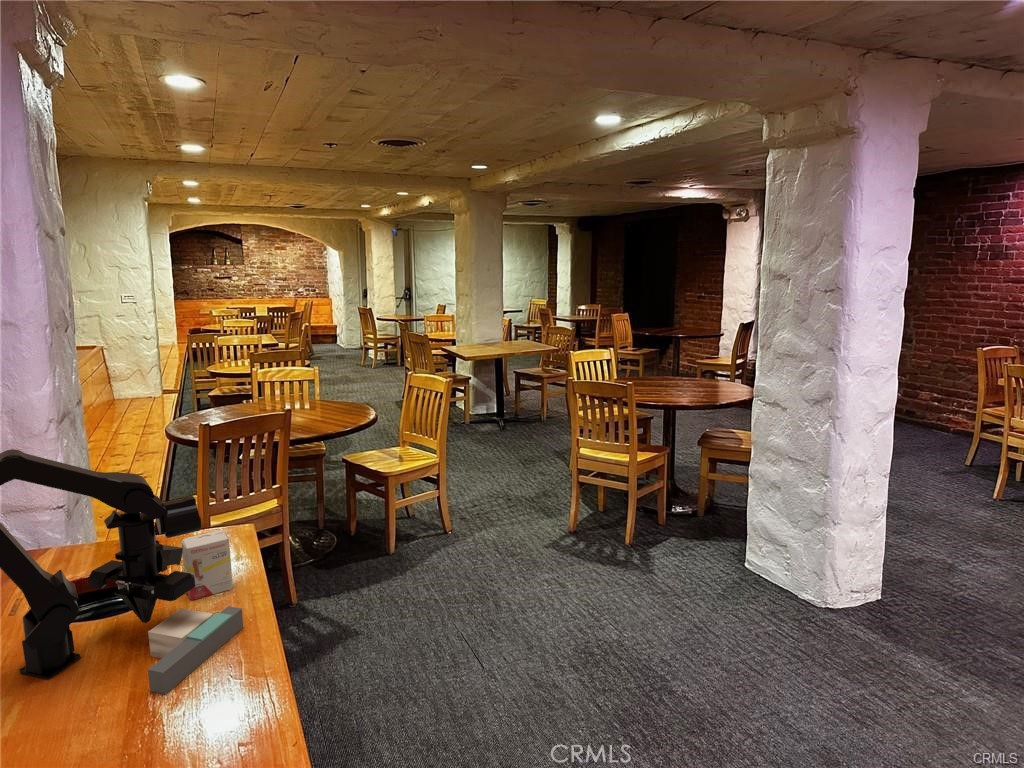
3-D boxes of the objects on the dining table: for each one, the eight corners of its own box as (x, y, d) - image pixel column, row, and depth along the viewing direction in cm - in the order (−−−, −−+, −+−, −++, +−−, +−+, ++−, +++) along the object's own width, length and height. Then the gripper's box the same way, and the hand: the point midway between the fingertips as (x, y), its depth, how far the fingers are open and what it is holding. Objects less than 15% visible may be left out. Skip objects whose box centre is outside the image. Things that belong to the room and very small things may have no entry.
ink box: (190, 601, 136) (184, 548, 133) (184, 591, 140) (179, 539, 137) (233, 589, 141) (229, 537, 138) (227, 579, 145) (223, 529, 142)
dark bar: (165, 694, 108) (163, 670, 107) (149, 691, 109) (147, 667, 108) (243, 627, 127) (242, 606, 126) (229, 625, 128) (227, 604, 127)
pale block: (184, 663, 116) (181, 638, 115) (150, 657, 118) (148, 631, 117) (214, 637, 124) (212, 613, 123) (183, 632, 126) (180, 608, 125)
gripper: (212, 532, 126) (218, 607, 129) (131, 520, 130) (139, 592, 133) (168, 558, 115) (176, 639, 118) (81, 544, 120) (91, 622, 123)
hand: (146, 621), depth 124 cm, fingers closed
